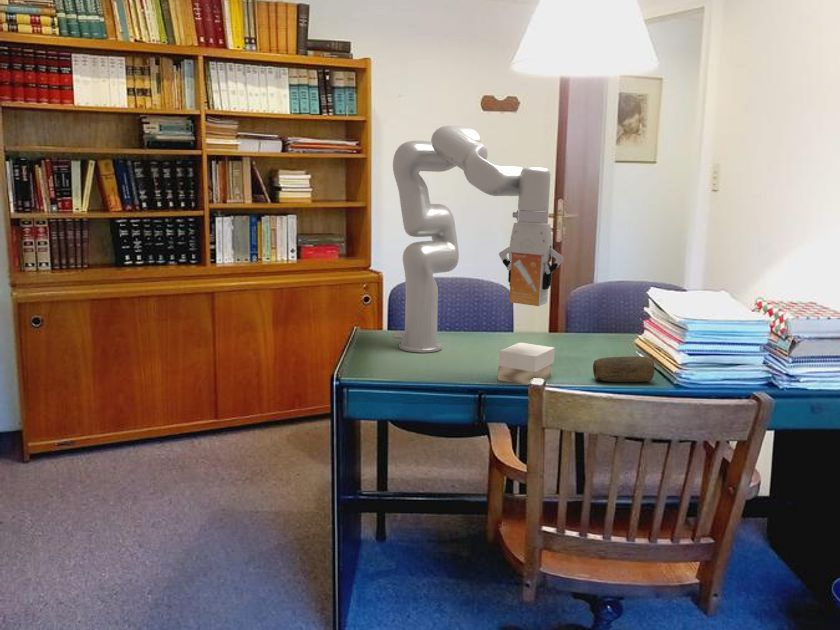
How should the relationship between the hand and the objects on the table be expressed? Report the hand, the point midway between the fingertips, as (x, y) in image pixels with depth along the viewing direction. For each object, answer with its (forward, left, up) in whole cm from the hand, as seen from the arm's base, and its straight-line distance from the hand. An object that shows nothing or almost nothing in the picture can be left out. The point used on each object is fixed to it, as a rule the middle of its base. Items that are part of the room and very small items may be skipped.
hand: (529, 287), depth 196 cm
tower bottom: (0, 0, -24) cm, 24 cm away
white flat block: (0, 0, -20) cm, 20 cm away
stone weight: (+23, +10, -24) cm, 35 cm away
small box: (0, 0, -4) cm, 4 cm away
